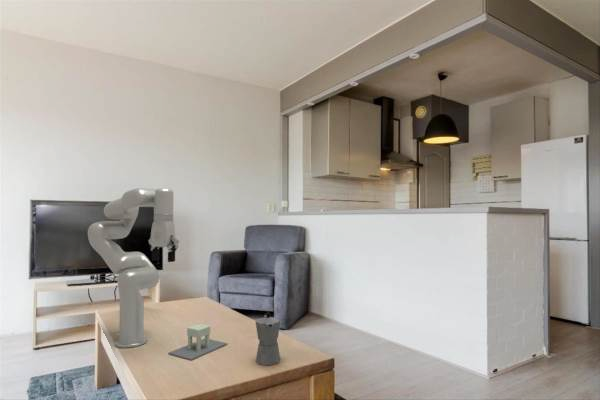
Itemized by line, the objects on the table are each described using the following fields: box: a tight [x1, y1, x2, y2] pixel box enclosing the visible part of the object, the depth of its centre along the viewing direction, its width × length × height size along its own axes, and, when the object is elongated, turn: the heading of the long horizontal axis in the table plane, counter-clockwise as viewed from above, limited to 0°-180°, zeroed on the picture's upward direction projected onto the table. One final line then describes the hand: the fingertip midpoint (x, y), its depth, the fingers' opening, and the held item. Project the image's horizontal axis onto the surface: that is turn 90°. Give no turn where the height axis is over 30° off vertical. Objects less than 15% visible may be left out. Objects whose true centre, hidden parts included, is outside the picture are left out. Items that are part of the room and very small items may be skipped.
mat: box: [167, 338, 228, 362], centre depth 153 cm, size 13×20×1 cm, turn 149°
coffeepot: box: [255, 312, 281, 367], centre depth 142 cm, size 15×9×18 cm, turn 13°
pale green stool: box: [186, 323, 211, 351], centre depth 154 cm, size 6×6×8 cm
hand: (163, 261), depth 153 cm, fingers open, 9 cm apart
